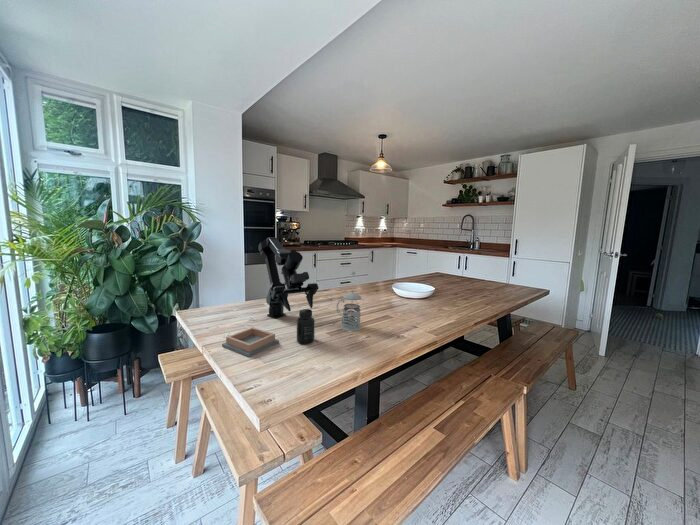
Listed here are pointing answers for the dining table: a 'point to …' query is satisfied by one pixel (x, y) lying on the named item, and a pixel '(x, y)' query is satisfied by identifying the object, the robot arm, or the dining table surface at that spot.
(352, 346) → the dining table surface
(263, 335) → the dock
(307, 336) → the supplement bottle
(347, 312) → the french press
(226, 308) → the dining table surface
